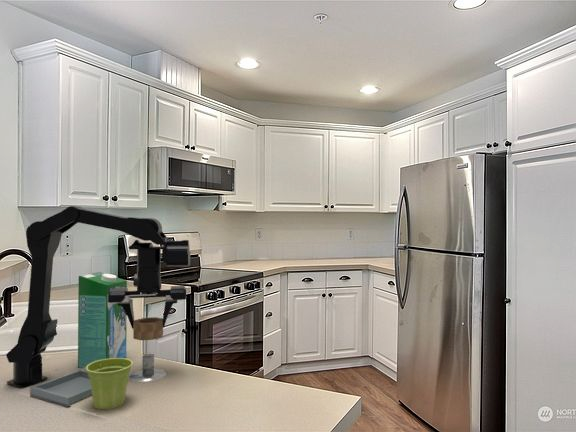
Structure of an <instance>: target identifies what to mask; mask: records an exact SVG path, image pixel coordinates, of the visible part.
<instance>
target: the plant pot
mask: <svg viewBox="0 0 576 432" xmlns="http://www.w3.org/2000/svg"><path fill="white" fill-rule="evenodd" d="M133 365H134V361H133V360H132V359H129V358H127V357H126V358H109V359H102V360H98V361H95V362H92V363H90V364H88V365H87V366H86V367H85V370H86V371H87V372H88V376H89V377H90V382H91V389H92V396H91V397H92V405H93V408H95V409H97V410H111V409H114V408H117V407H120V406H122V405H123V403H125V400H126V399H125V398H126V392H127V386H128V380H129V374H130V372H131V368H132V366H133Z"/></svg>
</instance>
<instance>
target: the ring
mask: <svg viewBox="0 0 576 432" xmlns="http://www.w3.org/2000/svg"><path fill="white" fill-rule="evenodd" d="M132 331H133V333H132V334H133V335H132V336H133V337H132V338H133V340H137V341H151V340H152V341H153V340H157V339H160V338H163V336H164V327H163V317H162V318H161V317H155V316H154V317H142V318H138V319H134V323H133V329H132Z"/></svg>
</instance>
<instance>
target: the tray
mask: <svg viewBox="0 0 576 432" xmlns="http://www.w3.org/2000/svg"><path fill="white" fill-rule="evenodd" d="M29 387H30V388H29V396H30V397H31V398H34V399H38V400H41V401H44V402H48V403H51V404H54V405H58V406H61V407H65V408H70V407H72V405H74V404H77V403H79V402H81V401H83V400H86V399H88V398H90V397H92V389H91V382H90V377H89V376H88V372H87V371H86V369H78V370H76V371H73V372H69V373H67V374H64V375H61V376H58V377H56V378H53V379H49V380H46V381H45V382H44V381H43V382H40V383H38V384H36V385H34V386H33V385H32V386H29Z"/></svg>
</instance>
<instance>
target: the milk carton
mask: <svg viewBox="0 0 576 432" xmlns="http://www.w3.org/2000/svg"><path fill="white" fill-rule="evenodd" d="M113 288H128V281H127V280H126V279H123V278H119V277H118V276H117V275H115V274H111V273H104V272H101V271H98V272H93V273H88V274H82V275H78V289H77V290H78V293H77V294H78V301H77V302H78V303H77V304H78V305H77V306H78V308H77V310H78V312H77V314H78V315H77V317H78V321H77V322H78V323H77V324H78V325H77V334H78V335H77V367H78V368H86V366H87V365H88V364H90V363H92V362H95V361H98V360H102V359H109V358H126V359H127V330H128V329H127V328H128V327H127V325H128V324H127V322H128V321H127V319H128V317H127V314H126V313H125V311H124V309H123V307H122V306H118V303H119V302H115V303H109V302H108V293H109V292H110V291H111V290H112V289H113Z"/></svg>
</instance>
